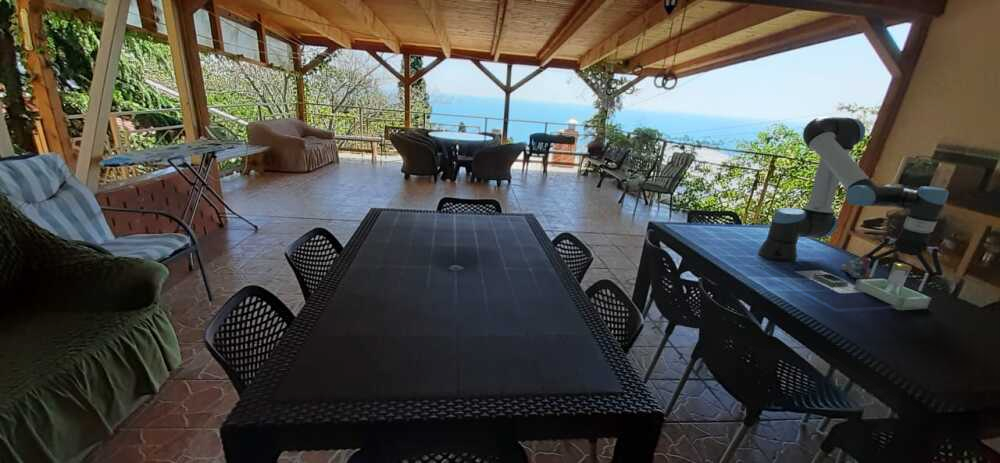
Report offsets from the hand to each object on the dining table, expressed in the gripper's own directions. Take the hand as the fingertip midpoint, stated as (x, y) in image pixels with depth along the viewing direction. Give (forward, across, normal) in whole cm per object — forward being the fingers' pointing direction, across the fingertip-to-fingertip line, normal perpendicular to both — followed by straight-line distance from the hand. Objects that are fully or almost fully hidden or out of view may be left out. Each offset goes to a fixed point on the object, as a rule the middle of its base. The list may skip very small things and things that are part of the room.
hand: (894, 283), depth 146 cm
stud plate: (+7, -18, -3) cm, 19 cm away
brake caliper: (+7, -12, +16) cm, 21 cm away
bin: (+7, 0, 0) cm, 7 cm away
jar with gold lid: (+5, 0, 0) cm, 5 cm away
